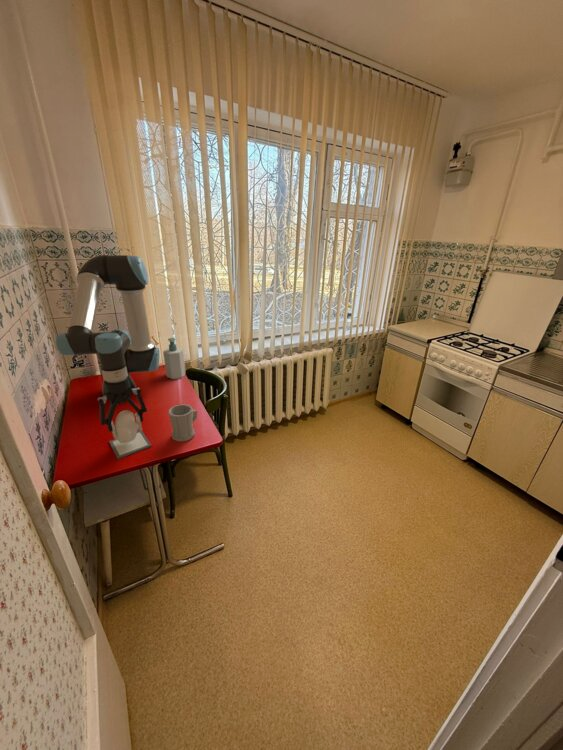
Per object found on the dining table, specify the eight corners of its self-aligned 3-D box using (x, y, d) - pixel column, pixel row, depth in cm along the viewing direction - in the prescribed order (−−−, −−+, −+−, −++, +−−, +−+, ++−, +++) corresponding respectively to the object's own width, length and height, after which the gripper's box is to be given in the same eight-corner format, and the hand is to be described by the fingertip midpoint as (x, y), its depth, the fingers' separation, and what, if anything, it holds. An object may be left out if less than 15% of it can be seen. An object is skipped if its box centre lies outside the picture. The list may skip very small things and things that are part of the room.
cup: (177, 426, 127) (174, 401, 122) (199, 427, 127) (196, 402, 122) (168, 441, 118) (164, 415, 113) (191, 442, 118) (188, 416, 113)
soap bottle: (167, 380, 166) (162, 342, 156) (165, 373, 173) (160, 337, 164) (186, 377, 170) (182, 340, 160) (184, 371, 177) (180, 335, 168)
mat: (109, 442, 116) (109, 441, 116) (141, 431, 123) (141, 430, 123) (117, 459, 108) (117, 458, 107) (151, 446, 115) (151, 445, 114)
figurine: (130, 445, 110) (125, 418, 105) (112, 442, 111) (105, 414, 106) (142, 434, 116) (137, 407, 111) (125, 431, 117) (119, 405, 112)
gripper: (83, 390, 95) (98, 449, 104) (151, 374, 107) (159, 428, 117) (79, 382, 100) (94, 438, 109) (144, 367, 112) (152, 419, 122)
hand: (127, 433), depth 113 cm, fingers closed on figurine, 8 cm apart
